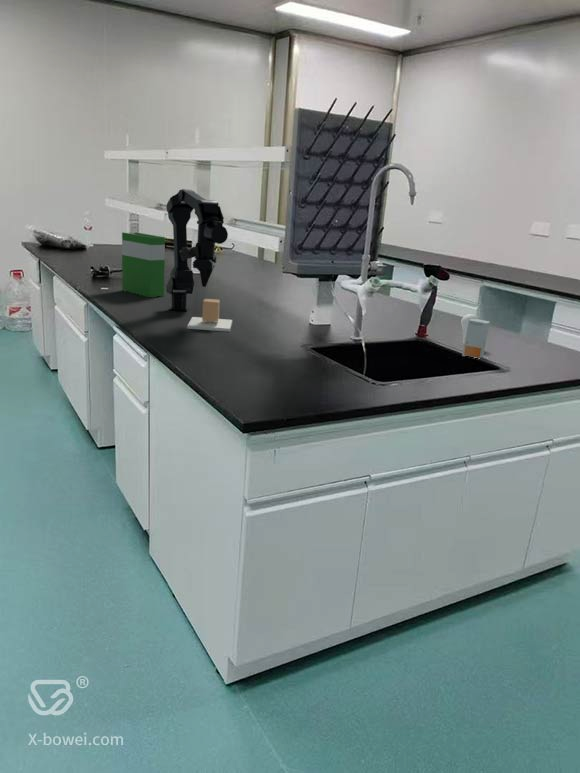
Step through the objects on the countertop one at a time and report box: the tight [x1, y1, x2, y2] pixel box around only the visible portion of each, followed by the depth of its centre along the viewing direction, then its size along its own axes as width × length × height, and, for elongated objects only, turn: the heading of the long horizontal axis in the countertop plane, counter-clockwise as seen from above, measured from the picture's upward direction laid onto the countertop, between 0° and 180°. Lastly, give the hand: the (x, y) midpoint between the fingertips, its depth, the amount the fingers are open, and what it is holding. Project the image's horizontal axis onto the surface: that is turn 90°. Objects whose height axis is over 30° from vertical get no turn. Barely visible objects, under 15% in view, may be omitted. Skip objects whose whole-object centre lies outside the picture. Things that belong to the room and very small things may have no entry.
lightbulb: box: [460, 313, 480, 344], centre depth 206 cm, size 6×6×11 cm
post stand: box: [186, 316, 233, 333], centre depth 202 cm, size 14×14×8 cm
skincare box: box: [461, 318, 491, 359], centre depth 190 cm, size 6×4×12 cm
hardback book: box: [121, 231, 166, 298], centre depth 246 cm, size 18×7×24 cm, turn 53°
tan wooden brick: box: [201, 298, 221, 322], centre depth 202 cm, size 5×5×7 cm
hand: (204, 286), depth 203 cm, fingers closed
